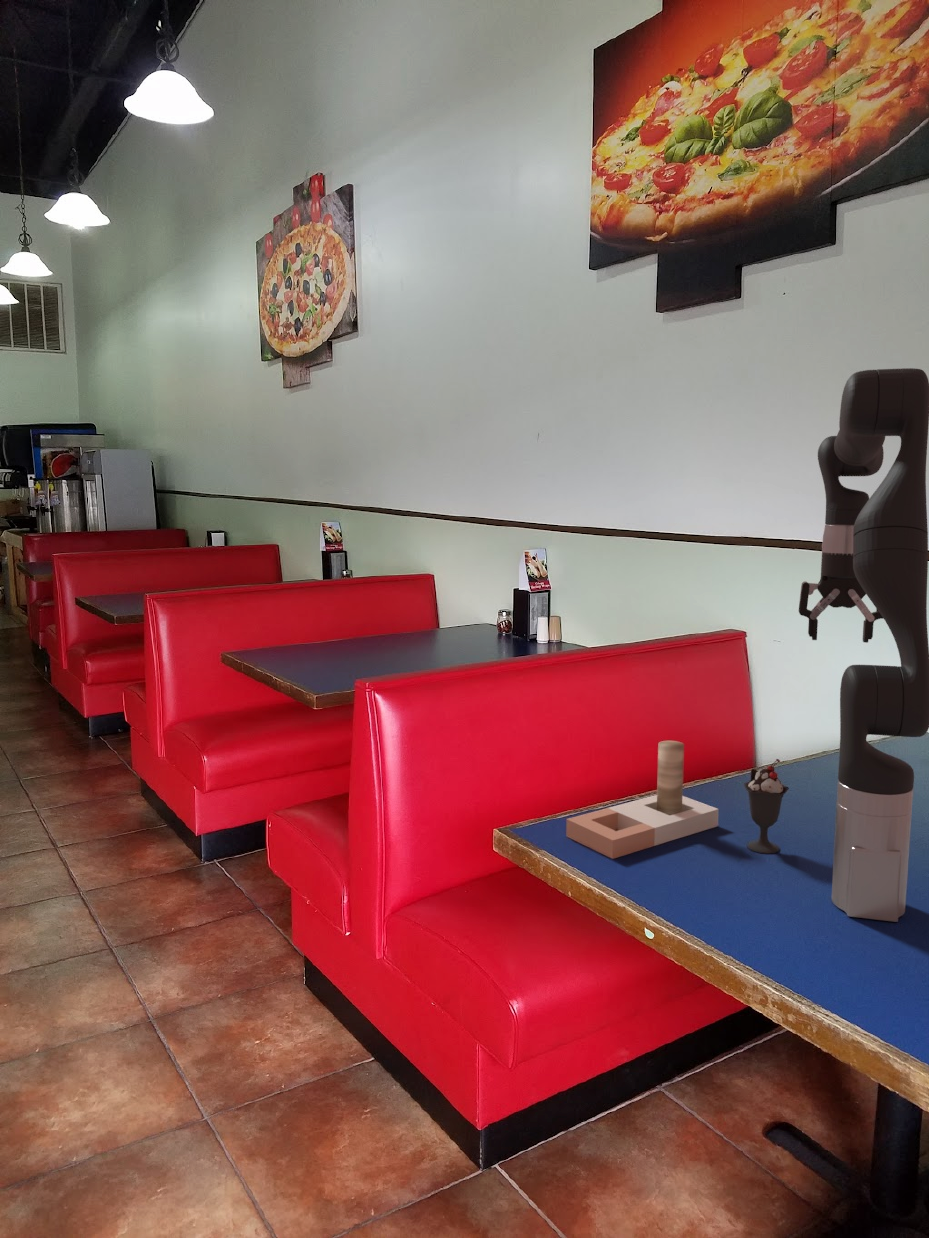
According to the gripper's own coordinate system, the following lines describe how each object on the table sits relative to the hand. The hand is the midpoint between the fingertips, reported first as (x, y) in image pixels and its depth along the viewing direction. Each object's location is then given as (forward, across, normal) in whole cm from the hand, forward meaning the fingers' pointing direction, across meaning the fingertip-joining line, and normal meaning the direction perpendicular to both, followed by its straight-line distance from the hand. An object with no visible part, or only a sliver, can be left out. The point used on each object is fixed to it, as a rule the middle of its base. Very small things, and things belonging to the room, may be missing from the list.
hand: (839, 640), depth 162 cm
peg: (+29, -28, -21) cm, 46 cm away
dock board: (+29, -32, -26) cm, 50 cm away
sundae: (+30, -12, -28) cm, 43 cm away
